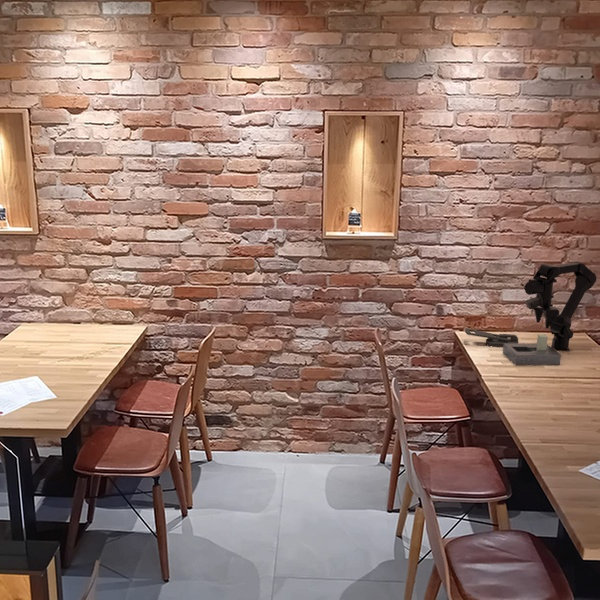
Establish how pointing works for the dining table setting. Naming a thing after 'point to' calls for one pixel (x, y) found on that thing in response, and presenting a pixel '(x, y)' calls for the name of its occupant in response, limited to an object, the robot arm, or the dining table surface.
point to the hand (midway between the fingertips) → (542, 325)
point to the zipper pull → (494, 338)
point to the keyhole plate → (531, 354)
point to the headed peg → (541, 342)
